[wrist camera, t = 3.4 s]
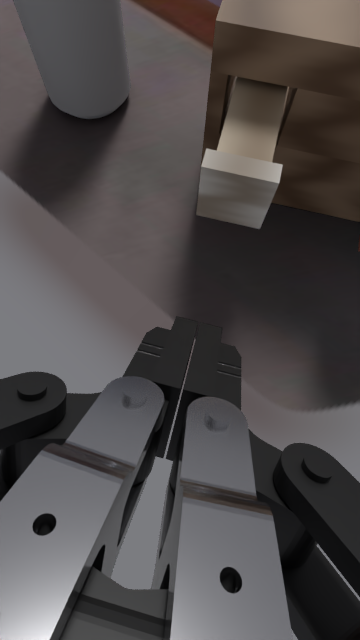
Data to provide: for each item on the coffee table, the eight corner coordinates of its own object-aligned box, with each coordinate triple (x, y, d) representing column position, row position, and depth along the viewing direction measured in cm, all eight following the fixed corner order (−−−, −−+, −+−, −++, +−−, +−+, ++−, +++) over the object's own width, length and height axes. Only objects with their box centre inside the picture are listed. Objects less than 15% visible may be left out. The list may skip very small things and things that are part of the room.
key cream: (196, 214, 21) (201, 166, 17) (226, 107, 24) (236, 45, 20) (259, 229, 21) (279, 183, 17) (282, 118, 23) (303, 58, 20)
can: (76, 138, 30) (15, -45, 18) (36, 87, 31) (-42, -109, 20) (147, 102, 31) (132, -88, 20) (105, 55, 33) (68, -144, 22)
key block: (198, 186, 28) (215, 20, 17) (216, 124, 30) (242, -60, 19) (391, 229, 27) (548, 82, 16) (395, 162, 29) (536, -9, 18)
